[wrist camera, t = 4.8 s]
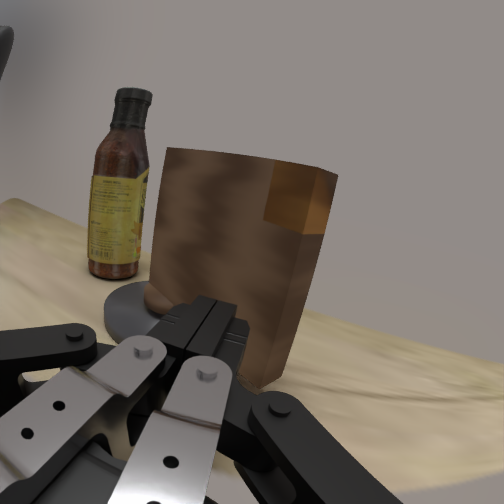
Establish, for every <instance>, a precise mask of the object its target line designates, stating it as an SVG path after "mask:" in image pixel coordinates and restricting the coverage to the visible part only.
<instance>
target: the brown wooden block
mask: <svg viewBox="0 0 504 504" xmlns="http://www.w3.org/2000/svg"><path fill="white" fill-rule="evenodd" d="M337 179H338V175H337V174H334V173H332V172H329V171H326V170H324V169H321V168H318V167H313V166H308V165H303V164H297V163H292V162H286V161H280V160H274V159H267V158H261V157H254V156H247V155H240V154H232V153H224V152H215V151H205V150H194V149H183V148H170V147H167V150H166V156H165V161H164V166H163V172H162V178H161V184H160V190H159V197H158V204H157V211H156V218H155V227H154V236H153V244H152V253H151V264H150V276H149V283H148V284H147V285H146V286H145V287H144V304H145V305H146V306H147V307H148V308H149V309H150V310H152V311H154V312H156V313H159V314H163V315H165V314H167V312H168V311H169V310H170V309H171V308H172V307H173V306H176V305H179V304H181V303H186V304H189V305H191V303H192V302H193V301H194V300H195V299H196V298H197V296H198V295H202V296H206V297H210V298H213V299H217V300H221V301H224V302H228V303H232V304H235V305H237V312H236V316H235V318H239V319H242V320H246V321H247V322H248V324H249V327H250V332H249V336H248V340H247V344H246V348H245V352H244V357H243V361H242V364H241V367H240V369H239V374H241V375H242V376H243V377H244V378H246V379H247V380H248V381H250V382H251V383H252V384H253V385H255V386H256V387H257V388H259V389H261V388H262V387H264V386H266V385H268V384H269V383H271V382H273V381H274V380H276V379H278V378H279V377H281V376H282V373H283V370H284V367H285V364H286V361H287V358H288V355H289V352H290V349H291V346H292V343H293V340H294V337H295V334H296V331H297V328H298V325H299V321H300V318H301V315H302V312H303V308H304V305H305V302H306V299H307V295H308V292H309V288H310V285H311V281H312V278H313V274H314V271H315V267H316V263H317V260H318V256H319V252H320V249H321V245H322V241H323V237H324V233H325V229H326V225H327V221H328V217H329V213H330V209H331V205H332V201H333V196H334V192H335V188H336V183H337Z"/></svg>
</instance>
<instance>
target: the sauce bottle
mask: <svg viewBox="0 0 504 504" xmlns="http://www.w3.org/2000/svg"><path fill="white" fill-rule="evenodd" d="M151 101H152V93H151V92H150V91H147V90H145V89H141V88H134V87H132V88H131V87H124V88H121V89H118V90H117V93H116V97H115V108H114V113H113V119H112V122H111V124H110V132H109V134H108V135H107V136H106V137H105V139H104V140H103V141H102V142H101V144H100V145H99V147H98V149H97V151H96V155H95V164H94V171H93V176H92V179H91V188H90V200H89V214H88V215H89V216H88V240H87V257H88V258H89V262H88V264H89V269H90V271H91V272H92V273H93V274H94V275H97V276H99V277H102V278H108V279H120V278H127V277H130V276H132V275H134V274H135V273H136V272H137V270H138V263H139V262H138V260H139V258H140V251H141V237H142V225H143V216H144V206H145V198H146V187H147V181H148V174H149V160H148V153H147V146H146V139H145V133H144V130H145V122H146V117H147V112H148V108H149V106H150V105H151Z"/></svg>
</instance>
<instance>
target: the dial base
mask: <svg viewBox="0 0 504 504" xmlns="http://www.w3.org/2000/svg"><path fill="white" fill-rule="evenodd" d="M148 283H149V281H142V282H135V283H131V284H127V285H124V286H122V287H120V288H118V289H116V290H114V291H113V292H112V293H111V294H110V295H109V296H108V297H107V299H106V300H105V304H104V322H105V327H106V329H107V331H108V333H109V334H110V336H111V337H112V338H113V339H114V340H115V341H116V342H117V343H118V344H120V343H121V342H122V341H123V340H125V339H126V338H129V337H131V336H137V335H144V336H145V335H146V334H147V333H148V332H149V331H150V330H151V329H152V328H153V327H154V326H155V325H156V324H157V323H158V322H159V321H160V320H161V319H162V317H163V316H164V315H163V314H159V313H156V312H154V311H152V310H150V309H149V308H148V307H147V306H146V305H145V304H144V287H145V286H146V285H147V284H148Z"/></svg>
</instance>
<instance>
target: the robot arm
mask: <svg viewBox="0 0 504 504" xmlns="http://www.w3.org/2000/svg"><path fill="white" fill-rule="evenodd" d="M13 40H14V32H13V29H12V28H11V27H9V26H0V80H1V77H2V74H3V71H4V68H5V66H6V63H7V61H8V58H9V55H10V52H11V49H12V45H13ZM236 312H237V305H235V304H232V303H228V302H224V301H221V300H217V299H213V298H210V297H206V296H202V295H198V296H197V298H196V299H195V300H194V301H193V302H192V303H191V305H189V304H186V303H181V304H179V305H176V306H173V307H172V308H171V309H170V310H169V311H168V312H167V314H165V315H164V316H163V317H162V319H161V320H160V321H159V322H158V323H157V324H156V325H155V326H154V327H153V328H152V329H151V330H150V331H149V332H148V333H147V334H146V335H145V336H144V335H137V336H131V337H129V338H126V339H125V340H123V341H122V342H121V343H120V344H119V345H117V346H113V345H108V344H103V343H97V340H96V333H95V331H94V330H93V329H92V328H90V327H89V326H87V325H84V324H79V323H70V324H62V325H53V326H44V327H35V328H26V329H16V330H5V331H0V504H218V503H216V502H215V501H213V500H212V499H210V498H209V497H207V496H205V494H206V490H207V485H208V481H209V477H210V473H211V468H212V464H213V460H214V455H215V451H216V450H217V451H218V452H220V453H222V454H224V455H225V456H227V457H229V458H231V459H232V460H234V466H235V468H236V470H237V471H238V473H239V474H240V476H241V477H242V479H243V480H244V482H245V483H246V485H247V486H248V488H249V489H250V491H251V492H252V494H253V495H254V497H255V498H256V499H257V501H258V502H259V504H403V503H402V502H401V501H400V500H399V499H397V498H396V497H395V496H394V495H393V494H392V493H391V492H390V491H389V490H387V489H386V488H385V487H384V486H383V485H382V484H381V483H380V482H379V481H378V480H377V479H376V478H374V477H373V476H372V475H371V474H370V473H369V472H368V471H367V470H366V469H365V468H364V467H363V466H362V465H361V464H360V463H359V462H358V461H357V460H356V459H355V458H354V457H353V456H352V455H351V454H350V453H349V452H348V451H347V450H346V449H345V448H344V447H343V446H342V445H341V444H340V443H339V442H338V441H337V440H336V439H335V438H334V437H333V436H332V435H331V434H330V433H329V432H328V431H327V430H326V429H325V428H324V427H323V426H322V425H321V424H320V423H319V422H318V420H317V419H316V418H315V417H314V416H313V415H312V414H311V413H310V412H309V411H308V410H307V409H306V408H305V407H304V405H303V404H302V403H301V402H300V401H299V400H298V399H296V398H295V397H293V396H291V395H289V394H287V393H283V392H279V391H268V392H264V393H261V394H259V395H258V396H257V395H255V394H253V393H251V392H250V391H248V390H246V389H245V388H244V387H243V386H242V385H241V384H240V383H239V382H238V380H237V376H238V373H239V369H240V367H241V364H242V361H243V357H244V352H245V348H246V344H247V340H248V336H249V332H250V327H249V324H248V322H247V321H246V320H242V319H239V318H235V316H236ZM53 368H60V372H59V373H57V374H56V375H55V376H54V377H52V378H51V379H50V380H46V381H39V382H28V381H26V380H25V379H24V378H23V376H22V373H24V372H31V371H39V370H46V369H53Z"/></svg>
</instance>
